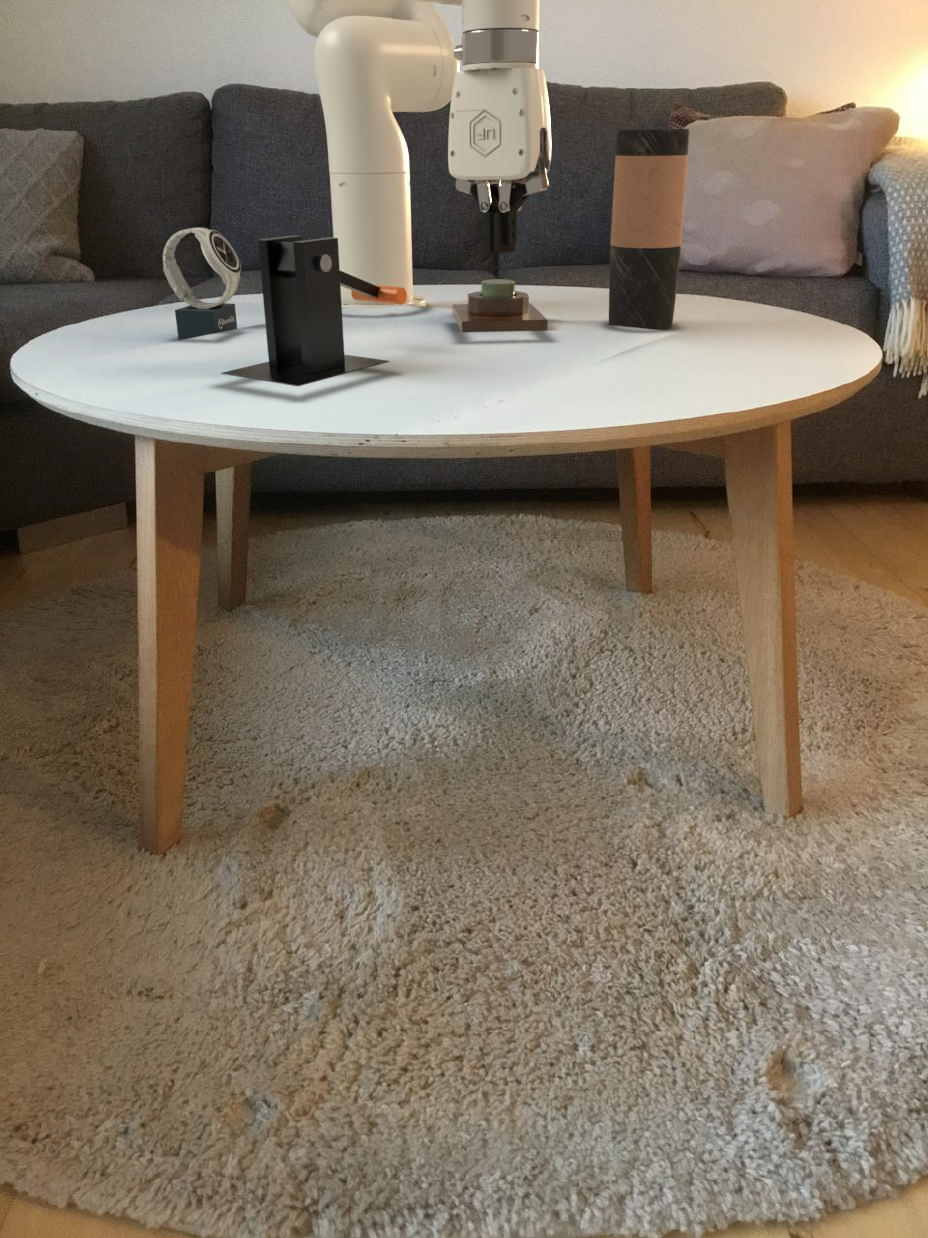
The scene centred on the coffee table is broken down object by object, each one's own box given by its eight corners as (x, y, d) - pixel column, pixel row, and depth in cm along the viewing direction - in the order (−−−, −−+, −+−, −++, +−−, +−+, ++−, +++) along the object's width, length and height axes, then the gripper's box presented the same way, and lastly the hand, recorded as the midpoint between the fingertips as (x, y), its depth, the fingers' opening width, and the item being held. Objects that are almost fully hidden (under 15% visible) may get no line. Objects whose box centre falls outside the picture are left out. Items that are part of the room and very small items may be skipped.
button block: (452, 324, 116) (452, 287, 114) (530, 322, 117) (530, 286, 115) (461, 343, 105) (461, 303, 103) (547, 341, 106) (548, 301, 104)
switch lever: (359, 306, 97) (363, 280, 96) (404, 311, 94) (409, 284, 94) (262, 269, 86) (266, 240, 85) (310, 273, 83) (315, 243, 82)
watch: (233, 342, 106) (222, 230, 102) (163, 339, 108) (149, 229, 103) (254, 333, 111) (244, 226, 107) (187, 330, 113) (174, 225, 108)
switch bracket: (316, 363, 96) (307, 230, 91) (390, 373, 92) (385, 235, 87) (222, 386, 87) (206, 241, 82) (298, 399, 83) (287, 247, 78)
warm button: (479, 296, 111) (479, 279, 110) (512, 295, 111) (512, 278, 110) (483, 300, 108) (483, 283, 107) (516, 300, 108) (517, 283, 107)
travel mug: (680, 332, 110) (697, 128, 102) (610, 332, 110) (620, 129, 102) (668, 320, 117) (683, 128, 109) (602, 320, 117) (612, 129, 109)
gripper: (417, 57, 100) (423, 252, 108) (546, 46, 93) (543, 258, 100) (460, 61, 106) (463, 247, 114) (586, 52, 98) (580, 251, 106)
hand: (500, 251), depth 107 cm, fingers closed
